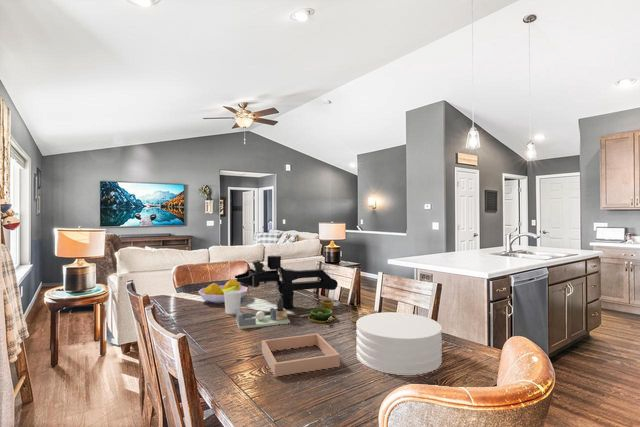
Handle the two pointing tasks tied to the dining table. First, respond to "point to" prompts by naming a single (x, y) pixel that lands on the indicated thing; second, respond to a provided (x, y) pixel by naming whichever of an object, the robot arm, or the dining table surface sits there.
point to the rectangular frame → (299, 365)
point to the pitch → (256, 320)
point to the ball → (260, 315)
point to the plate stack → (399, 343)
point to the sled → (278, 311)
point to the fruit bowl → (221, 291)
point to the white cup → (232, 301)
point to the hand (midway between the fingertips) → (235, 278)
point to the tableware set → (324, 313)
